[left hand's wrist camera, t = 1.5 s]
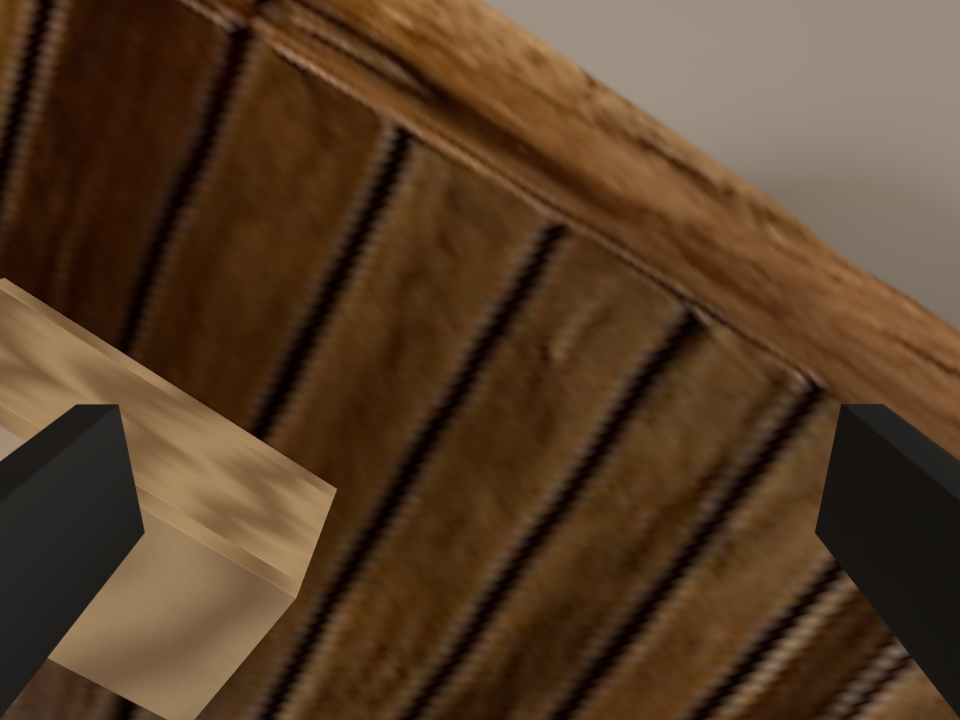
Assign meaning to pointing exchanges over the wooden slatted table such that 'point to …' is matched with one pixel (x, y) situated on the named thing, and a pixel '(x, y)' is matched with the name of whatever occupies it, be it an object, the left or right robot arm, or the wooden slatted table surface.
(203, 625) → the cabinet
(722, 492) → the wooden slatted table surface
